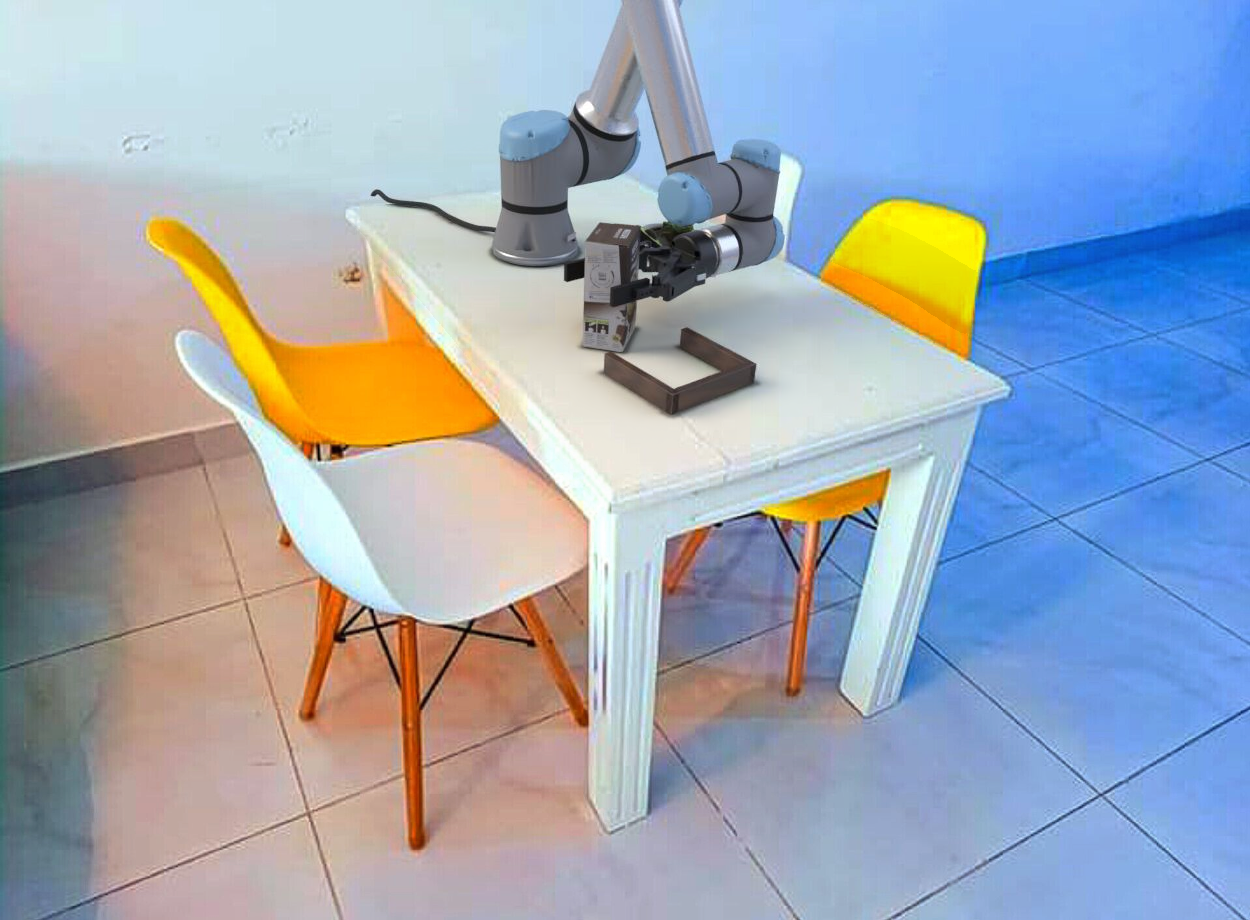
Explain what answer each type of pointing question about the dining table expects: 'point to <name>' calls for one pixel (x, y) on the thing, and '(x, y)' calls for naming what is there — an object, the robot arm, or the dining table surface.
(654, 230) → the salad plate
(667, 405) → the walnut holder
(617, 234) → the coffee box
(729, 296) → the dining table surface
